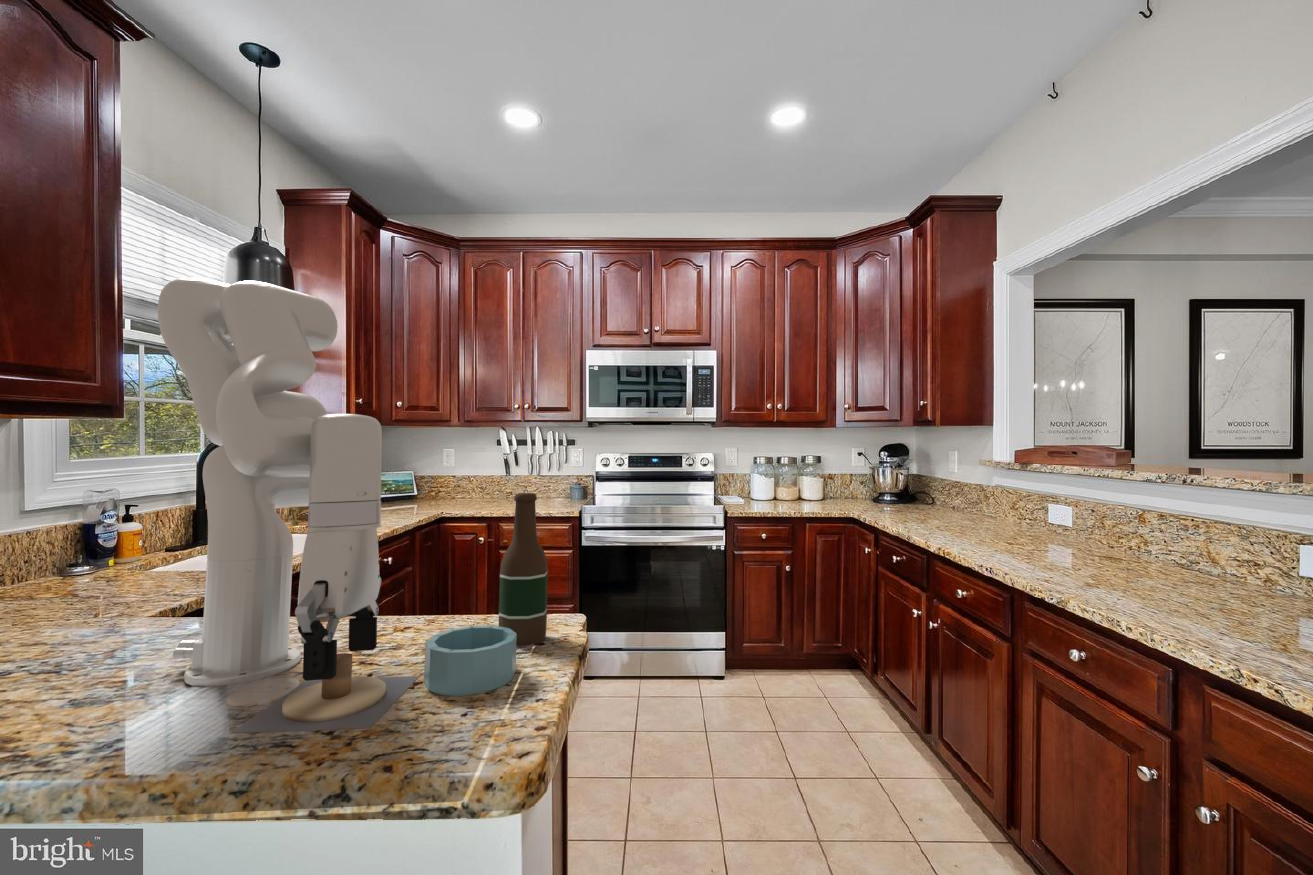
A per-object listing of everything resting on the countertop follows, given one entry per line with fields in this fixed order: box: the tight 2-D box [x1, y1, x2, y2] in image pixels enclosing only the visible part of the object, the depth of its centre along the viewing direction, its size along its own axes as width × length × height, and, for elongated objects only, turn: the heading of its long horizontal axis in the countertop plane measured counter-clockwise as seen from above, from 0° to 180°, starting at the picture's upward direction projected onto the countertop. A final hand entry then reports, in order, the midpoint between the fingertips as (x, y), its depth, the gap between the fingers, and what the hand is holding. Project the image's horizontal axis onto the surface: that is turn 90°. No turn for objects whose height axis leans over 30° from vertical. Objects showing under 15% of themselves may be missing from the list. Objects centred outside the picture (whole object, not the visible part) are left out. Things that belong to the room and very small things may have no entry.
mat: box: [229, 675, 420, 734], centre depth 61 cm, size 14×14×1 cm
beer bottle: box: [498, 492, 549, 647], centre depth 86 cm, size 8×8×24 cm
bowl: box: [423, 625, 517, 697], centre depth 69 cm, size 11×11×6 cm
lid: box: [282, 652, 386, 722], centre depth 62 cm, size 10×10×5 cm
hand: (342, 663), depth 61 cm, fingers open, 9 cm apart
